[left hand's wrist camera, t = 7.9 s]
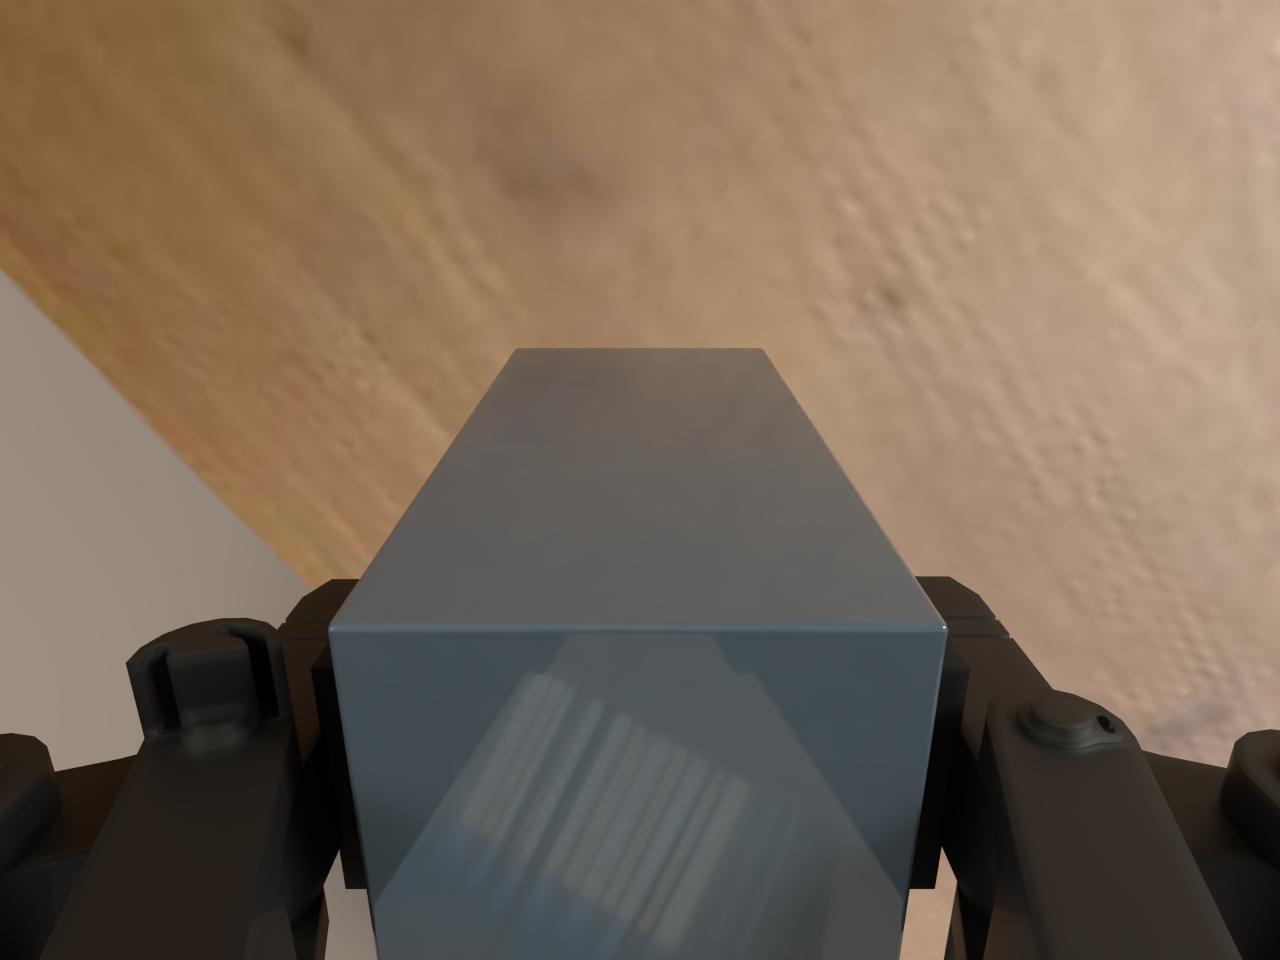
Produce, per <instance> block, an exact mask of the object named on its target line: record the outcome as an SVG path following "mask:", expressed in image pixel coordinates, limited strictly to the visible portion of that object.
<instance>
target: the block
mask: <svg viewBox="0 0 1280 960" xmlns="http://www.w3.org/2000/svg"><path fill="white" fill-rule="evenodd" d="M947 632H948V628H947V625H946V623H945V621H944V620H943V618H942V617H941V615H940V614H939V612H938V611H937V609H936V608H935V606H934V605H933V603H932V602H931V600H930V599H929V597H928V596H927V594H926V593H925V591H924V590H923V588H922V587H921V585H920V584H919V582H918V581H917V579H916V578H915V576H914V575H913V573H912V572H911V570H910V569H909V567H908V566H907V564H906V563H905V561H904V560H903V558H902V557H901V555H900V554H899V552H898V551H897V549H896V548H895V546H894V545H893V543H892V542H891V540H890V539H889V537H888V536H887V534H886V533H885V531H884V530H883V528H882V527H881V525H880V524H879V522H878V521H877V519H876V518H875V516H874V515H873V513H872V512H871V510H870V509H869V507H868V506H867V504H866V503H865V501H864V500H863V498H862V497H861V495H860V494H859V492H858V491H857V489H856V488H855V486H854V485H853V483H852V482H851V480H850V479H849V477H848V476H847V474H846V473H845V471H844V470H843V468H842V467H841V465H840V464H839V462H838V461H837V459H836V458H835V456H834V455H833V453H832V452H831V450H830V449H829V447H828V446H827V444H826V443H825V441H824V440H823V438H822V437H821V435H820V434H819V432H818V431H817V429H816V428H815V426H814V425H813V423H812V422H811V420H810V419H809V417H808V416H807V414H806V413H805V411H804V410H803V408H802V407H801V405H800V404H799V402H798V401H797V399H796V398H795V396H794V395H793V393H792V392H791V390H790V389H789V387H788V386H787V384H786V383H785V381H784V380H783V378H782V377H781V375H780V374H779V372H778V371H777V369H776V368H775V366H774V365H773V363H772V362H771V360H770V359H769V357H768V356H767V354H766V353H765V351H764V350H763V349H761V348H517V349H515V350H514V352H513V353H512V355H511V356H510V358H509V359H508V361H507V362H506V363H505V365H504V366H503V368H502V369H501V371H500V372H499V374H498V375H497V377H496V378H495V380H494V381H493V383H492V384H491V386H490V387H489V389H488V390H487V392H486V393H485V395H484V396H483V398H482V399H481V400H480V402H479V403H478V405H477V406H476V408H475V409H474V411H473V412H472V414H471V415H470V417H469V418H468V420H467V421H466V423H465V424H464V426H463V427H462V429H461V430H460V432H459V433H458V435H457V436H456V437H455V439H454V440H453V442H452V443H451V445H450V446H449V448H448V449H447V451H446V452H445V454H444V455H443V457H442V458H441V460H440V461H439V463H438V464H437V466H436V467H435V469H434V470H433V472H432V473H431V474H430V476H429V477H428V479H427V480H426V482H425V483H424V485H423V486H422V488H421V489H420V491H419V492H418V494H417V495H416V497H415V498H414V500H413V501H412V503H411V504H410V506H409V507H408V508H407V510H406V511H405V513H404V514H403V516H402V517H401V519H400V520H399V522H398V523H397V525H396V526H395V528H394V529H393V531H392V532H391V534H390V535H389V537H388V538H387V540H386V541H385V543H384V544H383V545H382V547H381V548H380V550H379V551H378V553H377V554H376V556H375V557H374V559H373V560H372V562H371V563H370V565H369V566H368V568H367V569H366V571H365V572H364V574H363V575H362V577H361V578H360V580H359V581H358V582H357V584H356V585H355V587H354V588H353V590H352V591H351V593H350V594H349V596H348V597H347V599H346V600H345V602H344V603H343V605H342V606H341V608H340V609H339V611H338V612H337V614H336V615H335V617H334V618H333V619H332V621H331V622H330V624H329V627H328V635H329V641H330V648H331V655H332V661H333V668H334V675H335V681H336V688H337V695H338V701H339V708H340V715H341V721H342V728H343V735H344V742H345V748H346V755H347V762H348V768H349V775H350V782H351V788H352V795H353V802H354V808H355V815H356V822H357V829H358V835H359V842H360V849H361V855H362V862H363V869H364V875H365V882H366V889H367V895H368V902H369V909H370V916H371V922H372V929H373V935H374V942H375V949H376V955H377V960H899V958H900V951H901V944H902V937H903V930H904V924H905V917H906V910H907V903H908V897H909V890H910V883H911V876H912V869H913V863H914V856H915V849H916V842H917V836H918V829H919V822H920V815H921V808H922V802H923V795H924V788H925V781H926V775H927V768H928V761H929V754H930V747H931V741H932V734H933V727H934V720H935V714H936V707H937V700H938V693H939V686H940V680H941V673H942V666H943V659H944V653H945V646H946V639H947Z"/></svg>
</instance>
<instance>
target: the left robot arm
mask: <svg viewBox="0 0 1280 960" xmlns="http://www.w3.org/2000/svg"><path fill="white" fill-rule="evenodd" d="M915 578H916V579H917V581H918V582H919V584H920V585H921V587H922V588H923V590H924V591H925V593H926V594H927V596H928V597H929V599H930V600H931V602H932V603H933V605H934V606H935V608H936V609H937V611H938V612H939V614H940V615H941V617H942V618H943V620H944V621H945V623H946V625H947V628H948V632H947V639H946V646H945V653H944V659H943V666H942V673H941V680H940V686H939V693H938V700H937V707H936V714H935V720H934V727H933V734H932V741H931V747H930V754H929V761H928V768H927V775H926V781H925V788H924V795H923V802H922V808H921V815H920V822H919V829H918V836H917V842H916V849H915V856H914V863H913V869H912V876H911V883H910V889H935V884H936V878H937V872H938V866H939V859H940V853H941V847H942V848H943V850H944V852H945V855H946V857H947V859H948V861H949V864H950V866H951V868H952V870H953V873H954V875H955V877H956V879H957V886H956V892H955V898H954V904H953V909H952V915H951V921H950V927H949V932H948V938H947V944H946V950H945V956H944V960H1280V730H1272V729H1269V730H1263V731H1256V732H1249V733H1246V734H1245V735H1244V736H1243V737H1241V738H1240V739H1239V740H1237V741H1236V742H1235V744H1234V747H1233V750H1232V754H1231V757H1230V760H1229V764H1228V767H1227V768H1223V767H1218V766H1213V765H1208V764H1203V763H1198V762H1193V761H1188V760H1183V759H1178V758H1173V757H1168V756H1162V755H1159V754H1155V753H1151V752H1147V751H1143V750H1141V748H1140V746H1139V743H1138V741H1137V739H1136V737H1135V736H1134V735H1133V734H1132V732H1131V731H1130V730H1129V729H1128V727H1127V726H1126V725H1125V723H1124V722H1123V721H1122V720H1121V719H1119V718H1118V717H1116V716H1115V715H1113V714H1112V713H1111V712H1109V711H1108V710H1106V709H1105V708H1103V707H1102V706H1100V705H1098V704H1096V703H1093V702H1091V701H1089V700H1086V699H1084V698H1081V697H1079V696H1077V695H1074V694H1071V693H1066V692H1062V691H1057V690H1053V689H1052V688H1051V686H1050V685H1049V684H1048V682H1047V681H1046V680H1045V679H1044V677H1043V676H1042V675H1041V674H1040V672H1039V671H1038V670H1037V668H1036V667H1035V666H1034V665H1033V663H1032V662H1031V661H1030V660H1029V658H1028V657H1027V656H1026V654H1025V653H1024V652H1023V651H1022V649H1021V648H1020V647H1019V646H1018V644H1017V643H1016V642H1015V640H1014V639H1013V638H1009V633H1008V632H1007V630H1006V629H1005V628H1004V626H1003V625H1002V624H1001V623H1000V621H999V620H995V615H994V614H993V612H992V611H991V610H990V609H989V607H988V606H987V605H986V604H985V602H984V601H983V600H982V598H981V597H980V596H979V595H978V594H977V593H975V592H973V591H972V590H970V589H968V588H967V587H965V586H964V585H962V584H960V583H959V582H957V581H956V580H954V579H952V578H951V577H915ZM359 580H360V579H331V580H330V581H328V582H327V583H325V584H323V585H322V586H320V587H319V588H317V589H315V590H314V591H312V592H311V593H309V594H307V595H306V596H304V597H303V598H302V599H301V600H300V601H299V603H298V604H297V605H296V606H295V608H294V609H293V610H292V612H291V613H290V614H289V616H288V617H287V618H286V623H282V624H281V626H280V627H279V628H278V630H277V629H275V628H274V627H273V626H271V625H270V624H269V623H267V622H263V621H259V620H254V619H250V618H221V619H215V620H210V621H205V622H200V623H194V624H190V625H187V626H185V627H182V628H179V629H176V630H174V631H171V632H168V633H165V634H163V635H161V636H160V637H158V638H156V639H154V640H153V641H151V642H149V643H148V644H146V645H144V646H143V647H141V648H140V649H139V650H138V651H137V652H136V653H135V654H134V655H133V656H132V657H131V658H130V659H129V660H128V661H127V662H126V666H127V670H128V674H129V678H130V682H131V686H132V690H133V694H134V698H135V702H136V706H137V710H138V714H139V718H140V722H141V726H142V730H143V734H144V738H145V739H144V741H143V743H142V745H141V747H140V749H139V751H138V753H137V755H133V756H129V757H125V758H121V759H117V760H112V761H107V762H102V763H97V764H92V765H87V766H82V767H77V768H72V769H66V770H61V771H56V772H55V771H54V768H53V765H52V761H51V758H50V755H49V751H48V748H47V746H46V745H45V744H43V743H42V742H41V741H40V740H38V739H37V738H36V737H34V736H28V735H21V734H14V733H8V734H0V960H324V959H325V950H326V942H327V934H328V925H329V918H328V911H327V904H326V898H325V892H324V886H323V885H324V883H325V881H326V878H327V876H328V874H329V871H330V869H331V867H332V865H333V862H334V860H335V858H336V856H337V853H338V851H339V850H340V856H341V862H342V868H343V874H344V881H345V887H346V889H366V882H365V875H364V869H363V862H362V855H361V849H360V842H359V835H358V829H357V822H356V815H355V808H354V802H353V795H352V788H351V782H350V775H349V768H348V762H347V755H346V748H345V742H344V735H343V728H342V721H341V715H340V708H339V701H338V695H337V688H336V681H335V675H334V668H333V661H332V655H331V648H330V641H329V635H328V627H329V624H330V622H331V621H332V619H333V618H334V617H335V615H336V614H337V612H338V611H339V609H340V608H341V606H342V605H343V603H344V602H345V600H346V599H347V597H348V596H349V594H350V593H351V591H352V590H353V588H354V587H355V585H356V584H357V582H358V581H359Z"/></svg>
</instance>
